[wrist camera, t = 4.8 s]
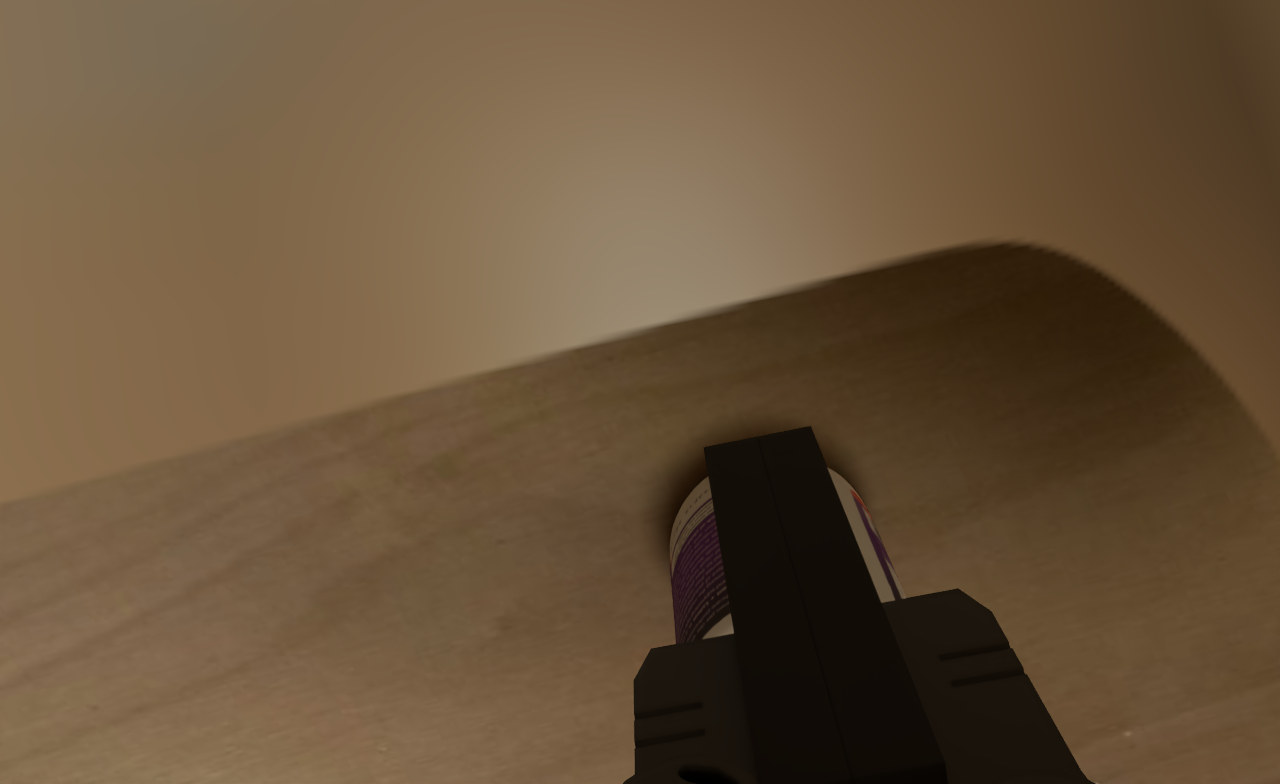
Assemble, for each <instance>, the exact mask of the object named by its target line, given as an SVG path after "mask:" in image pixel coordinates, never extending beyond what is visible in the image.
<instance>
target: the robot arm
mask: <svg viewBox="0 0 1280 784" xmlns="http://www.w3.org/2000/svg"><path fill="white" fill-rule="evenodd" d="M704 453H705V459H706V465H707V471H708V478H709V484H710V490H711V496H712V502H713V508H714V514H715V520H716V526H717V532H718V539H719V545H720V551H721V557H722V563H723V569H724V575H725V581H726V587H727V594H728V600H729V606H730V612H731V618H732V624H733V630H734V633H733V634H728V635H722V636H717V637H712V638H706V639H701V640H696V641H690V642H685V643H679V644H674V645H669V646H663V647H658V648H653V649H651V650H650V652H649V653H648V655H647V657H646V659H645V661H644V663H643V664H642V666H641V668H640V670H639V672H638V674H637V675H636V677H635V679H634V715H635V720H634V739H635V747H636V748H635V775H633V776H632V777H630V778H629V779H627V780H626V781H624V783H623V784H1095V783H1093V782H1091V781H1090V780H1088V779H1087V778H1086V776H1085V775H1084V774H1083V772H1082V771H1081V770H1080V768H1079V766H1078V764H1077V762H1076V761H1075V759H1074V757H1073V755H1072V754H1071V752H1070V750H1069V748H1068V747H1067V745H1066V743H1065V741H1064V739H1063V738H1062V736H1061V734H1060V732H1059V731H1058V729H1057V727H1056V725H1055V723H1054V722H1053V720H1052V718H1051V716H1050V715H1049V713H1048V711H1047V709H1046V707H1045V706H1044V704H1043V702H1042V700H1041V699H1040V697H1039V695H1038V693H1037V691H1036V690H1035V688H1034V686H1033V684H1032V683H1031V681H1030V679H1029V677H1028V675H1027V674H1026V675H1025V673H1024V670H1023V667H1022V665H1021V663H1020V661H1019V659H1018V658H1017V656H1016V654H1015V652H1014V651H1013V649H1011V648H1010V646H1009V642H1008V640H1007V638H1006V636H1005V635H1004V633H1003V631H1002V629H1001V628H1000V626H999V624H998V622H997V620H996V619H995V617H994V615H993V613H992V612H991V611H990V610H989V609H987V608H986V607H984V606H983V605H981V604H980V603H978V602H977V601H975V600H974V599H973V598H971V597H970V596H968V595H967V594H965V593H964V592H962V591H961V590H960V589H953V590H948V591H942V592H937V593H932V594H926V595H921V596H915V597H910V598H905V599H899V600H894V601H889V602H883V603H881V600H880V598H879V595H878V593H877V590H876V588H875V585H874V583H873V580H872V578H871V575H870V573H869V570H868V568H867V565H866V563H865V560H864V558H863V555H862V553H861V550H860V548H859V545H858V543H857V540H856V538H855V535H854V533H853V530H852V528H851V525H850V523H849V520H848V518H847V515H846V513H845V510H844V508H843V505H842V503H841V500H840V498H839V495H838V493H837V490H836V488H835V485H834V483H833V480H832V478H831V475H830V473H829V470H828V468H827V465H826V463H825V460H824V458H823V455H822V453H821V450H820V448H819V445H818V443H817V440H816V438H815V435H814V433H813V430H812V428H811V426H809V427H804V428H799V429H794V430H789V431H784V432H778V433H773V434H768V435H763V436H758V437H753V438H748V439H743V440H738V441H733V442H728V443H723V444H718V445H713V446H708V447H704Z"/></svg>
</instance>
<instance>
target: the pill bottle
mask: <svg viewBox="0 0 1280 784" xmlns="http://www.w3.org/2000/svg"><path fill="white" fill-rule="evenodd" d="M827 468H828V467H827ZM828 470H829V473H830V475H831V478H832V480H833V483H834V485H835V488H836V490H837V493H838V495H839V498H840V500H841V503H842V505H843V508H844V510H845V513H846V515H847V518H848V520H849V523H850V525H851V528H852V530H853V533H854V535H855V538H856V540H857V543H858V545H859V548H860V550H861V553H862V555H863V558H864V560H865V563H866V565H867V568H868V570H869V573H870V575H871V578H872V580H873V583H874V585H875V588H876V590H877V593H878V595H879V598H880V600H881V603H883V602H889V601H894V600H899V599H905V598H906V596H905V594H904V591H903V589H902V587H901V584H900V582H899V580H898V577H897V575H896V573H895V571H894V568H893V566H892V564H891V561H890V559H889V557H888V555H887V552H886V550H885V547H884V545H883V543H882V540H881V538H880V536H879V534H878V531H877V530H876V527H875V525H874V522H873V520H872V517H871V515H870V514H869V512H868V510H867V509H866V506H865V505H864V503H863V501H862V499H861V498H860V496H859V495H858V494H857V492H856V491H855V490H854V489H853V487H852V486H851V485H850V484H849V483H848V482H847V481H846V480H845V479H844V478H842V477H841V476H840V475H839V474H837V473H836V472H835V471H833V470H831V469H829V468H828ZM670 574H671V584H672V596H673V608H674V620H675V635H676V644H679V643H685V642H690V641H696V640H701V639H706V638H712V637H717V636H722V635H728V634H733V633H734V630H733V624H732V618H731V612H730V606H729V600H728V594H727V587H726V581H725V575H724V569H723V563H722V557H721V551H720V545H719V539H718V532H717V526H716V520H715V514H714V508H713V502H712V496H711V490H710V484H709V478H708V477H707V478H705V479H704V480H703V481H702V482H701V483H700V484H698V485H697V486H696V487H695V489H694V490H693V491H692V492H691V493H690V494H689V496H688V497H687V498H686V500H685V501H684V503H683V504H682V506H681V508H680V510H679V512H678V514H677V516H676V519H675V522H674V525H673V528H672V533H671V539H670Z"/></svg>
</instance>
